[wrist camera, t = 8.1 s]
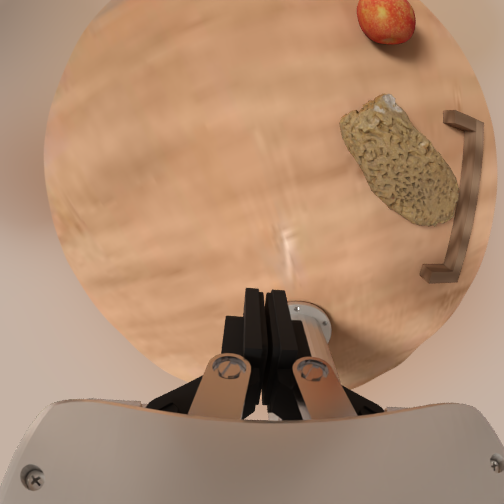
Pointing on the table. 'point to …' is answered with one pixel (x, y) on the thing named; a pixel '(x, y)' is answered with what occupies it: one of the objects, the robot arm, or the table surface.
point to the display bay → (461, 199)
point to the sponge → (400, 162)
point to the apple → (386, 20)
